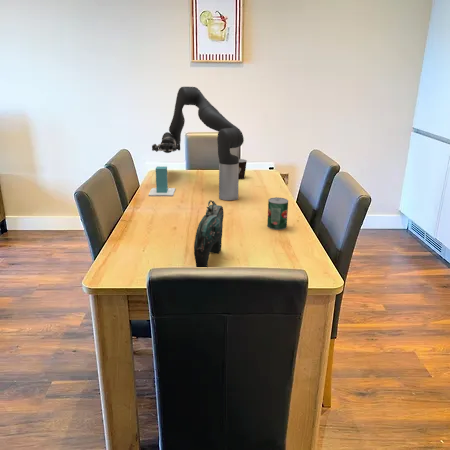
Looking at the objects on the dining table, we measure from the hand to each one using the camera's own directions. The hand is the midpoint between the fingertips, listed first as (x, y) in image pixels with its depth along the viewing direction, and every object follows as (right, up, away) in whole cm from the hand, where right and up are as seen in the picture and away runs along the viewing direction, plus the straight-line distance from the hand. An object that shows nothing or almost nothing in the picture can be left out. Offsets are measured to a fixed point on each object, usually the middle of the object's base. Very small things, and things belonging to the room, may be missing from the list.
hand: (165, 149), depth 222 cm
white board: (-1, -21, +1) cm, 22 cm away
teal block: (-1, -21, 0) cm, 21 cm away
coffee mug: (+36, -11, +31) cm, 49 cm away
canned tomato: (+51, -38, -43) cm, 77 cm away
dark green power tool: (+25, -49, -73) cm, 92 cm away
